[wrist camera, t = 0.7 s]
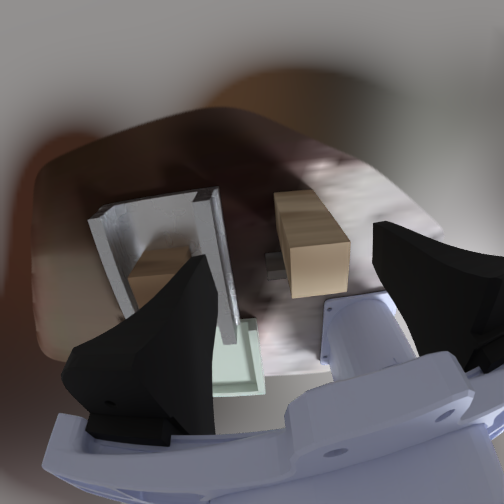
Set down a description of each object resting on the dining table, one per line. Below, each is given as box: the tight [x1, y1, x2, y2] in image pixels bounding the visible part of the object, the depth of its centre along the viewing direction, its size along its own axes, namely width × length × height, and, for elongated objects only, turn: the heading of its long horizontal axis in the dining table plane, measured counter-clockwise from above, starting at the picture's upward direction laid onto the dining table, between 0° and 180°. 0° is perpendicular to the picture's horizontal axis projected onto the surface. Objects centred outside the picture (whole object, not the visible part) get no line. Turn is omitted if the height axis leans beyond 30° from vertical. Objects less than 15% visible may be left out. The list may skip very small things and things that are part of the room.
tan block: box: [265, 189, 351, 299], centre depth 19 cm, size 6×5×9 cm
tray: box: [212, 318, 266, 397], centre depth 29 cm, size 11×13×2 cm
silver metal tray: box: [88, 186, 241, 345], centre depth 23 cm, size 13×10×3 cm
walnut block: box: [128, 246, 191, 309], centre depth 22 cm, size 4×4×4 cm
